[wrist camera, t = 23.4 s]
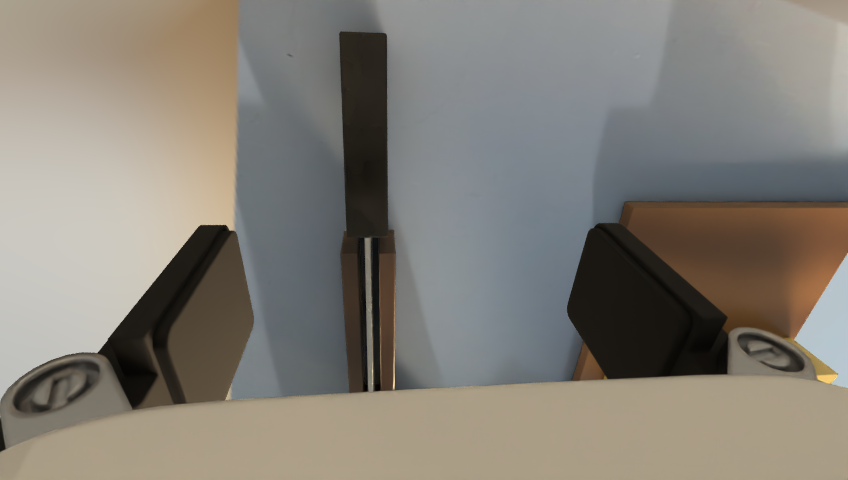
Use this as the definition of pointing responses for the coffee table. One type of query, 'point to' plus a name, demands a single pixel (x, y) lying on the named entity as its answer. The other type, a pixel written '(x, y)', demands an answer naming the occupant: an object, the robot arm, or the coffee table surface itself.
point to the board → (743, 258)
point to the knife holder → (355, 312)
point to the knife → (365, 152)
